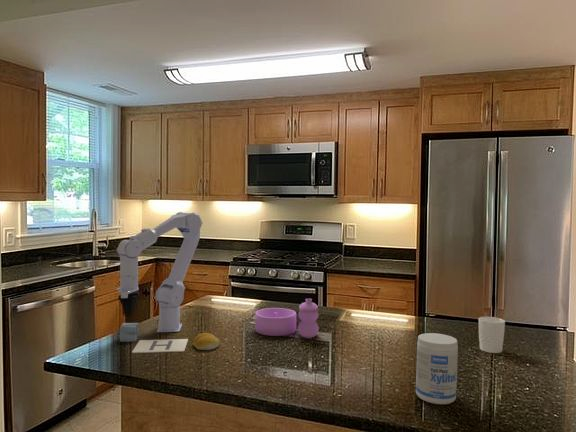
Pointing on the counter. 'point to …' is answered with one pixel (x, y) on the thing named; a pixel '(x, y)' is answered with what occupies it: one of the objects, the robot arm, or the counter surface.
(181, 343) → the letter board
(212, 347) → the bread roll
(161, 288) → the robot arm
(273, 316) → the container set
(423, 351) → the supplement tub
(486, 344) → the white cup
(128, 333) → the slate-blue cube
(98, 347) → the counter surface
